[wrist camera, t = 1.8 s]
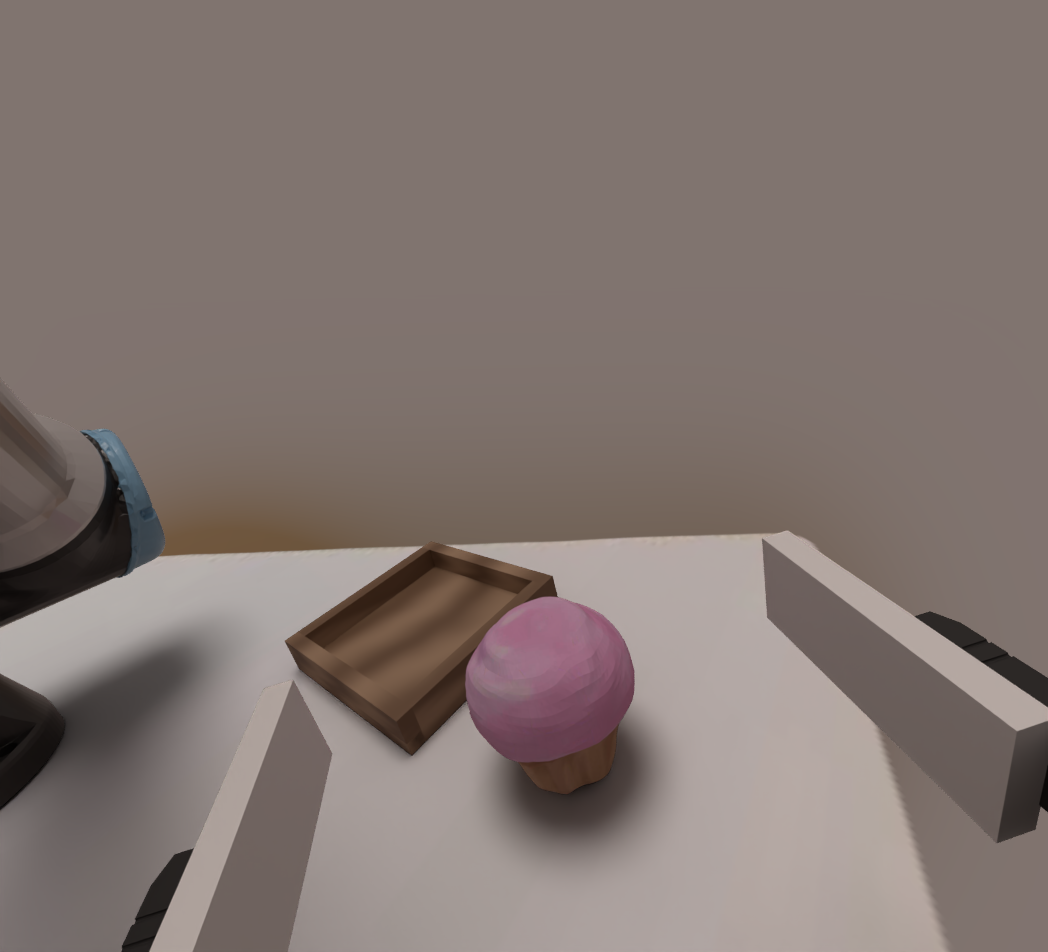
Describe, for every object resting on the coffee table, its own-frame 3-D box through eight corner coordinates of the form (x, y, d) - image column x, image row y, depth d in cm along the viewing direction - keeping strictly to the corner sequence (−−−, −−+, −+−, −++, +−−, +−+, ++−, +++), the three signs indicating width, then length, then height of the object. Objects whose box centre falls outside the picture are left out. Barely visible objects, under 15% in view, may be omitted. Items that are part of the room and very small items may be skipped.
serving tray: (298, 668, 43) (284, 640, 42) (439, 565, 53) (431, 541, 52) (411, 755, 32) (396, 721, 31) (559, 605, 42) (552, 576, 41)
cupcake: (610, 680, 34) (583, 554, 30) (679, 795, 26) (655, 645, 22) (484, 730, 33) (439, 605, 29) (517, 869, 25) (461, 721, 21)
